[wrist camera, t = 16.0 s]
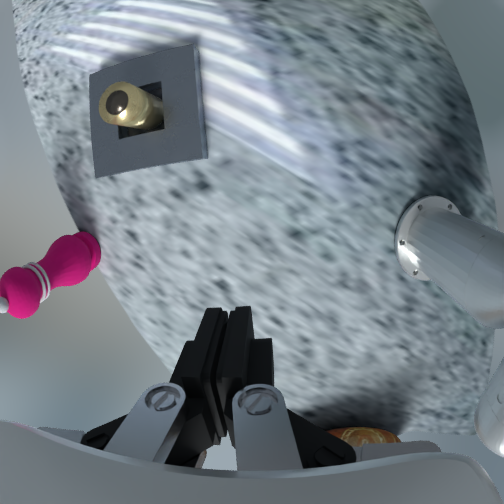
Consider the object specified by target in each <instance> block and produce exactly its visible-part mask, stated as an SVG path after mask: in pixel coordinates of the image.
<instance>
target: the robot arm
mask: <svg viewBox="0 0 504 504" xmlns="http://www.w3.org/2000/svg"><path fill="white" fill-rule="evenodd" d="M400 240H401V241H400ZM395 252H396V256H397V260H398V262H399V264H400V266H401V267H402V268H403V270H404V271H405V272H407V273H408V274H409V275H410V276H411V277H413V278H415V279H418V280H425V281H426V280H432V281H433V282H434V283H436V284H437V285H438V286H439V287H440V288H441V289H442V290H444V291H445V292H446V293H447V294H448V295H449V296H450V297H451V298H453V299H454V300H455V301H456V302H457V303H458V304H459V305H460V306H461V307H462V308H463V309H465V310H466V311H467V312H468V313H469V314H470V315H471V316H472V317H473V318H474V319H475V320H476V321H478V322H479V323H480V324H482V325H483V326H485V327H488V328H492V329H502V328H504V233H503V232H500V231H498V230H496V229H493V228H491V227H489V226H486V225H484V224H482V223H479V222H477V221H474V220H472V219H469V218H467V217H464V216H461V214H460V212H459V210H458V208H457V207H456V206H455V205H454V204H453V203H452V202H451V201H449V200H448V199H446V198H443V197H440V196H426V197H422V198H420V199H418V200H416V201H415V202H414V203H413V204H411V205H410V206H409V207H408V209H407V210H406V211H405V212H404V214H403V215H402V217H401V219H400V221H399V224H398V226H397V230H396V234H395ZM474 425H475V429H476V432H477V435H478V436H479V438H480V440H481V441H482V442H483V443H484V444H485V446H486V447H488V448H489V449H490V450H491V451H493V452H494V453H496V454H497V455H499V456H501V457H503V458H504V358H503V359H502V361H501V364H500V365H499V367H498V368H497V370H496V372H495V374H494V376H493V377H492V379H491V381H490V382H489V384H488V386H487V387H486V389H485V391H484V392H483V394H482V396H481V398H480V400H479V402H478V404H477V406H476V409H475V414H474ZM227 430H228V432H229V436H230V440H231V443H232V446H233V447H234V448H235V449H236V460H237V471H231V470H230V471H229V470H213V469H201V468H202V466H203V463H204V461H205V458H206V454H207V451H206V449H208V448H210V447H211V446H213V445H220V442H221V437H226V435H227ZM0 504H503V502H502V499H501V497H500V495H499V493H498V491H497V489H496V487H495V485H494V483H493V482H492V480H491V478H490V477H489V475H488V474H487V472H486V471H485V470H484V468H483V467H482V466H481V465H480V464H479V463H478V462H477V461H475V460H474V459H472V458H471V457H468V456H466V455H462V454H456V453H444V452H441V450H440V448H439V447H438V446H437V445H436V444H435V443H433V442H430V441H412V442H398V443H370V444H363V445H362V447H353V446H351V445H350V444H348V443H347V442H345V441H343V440H342V439H340V438H338V437H336V436H334V435H332V434H330V433H328V432H327V431H325V430H323V429H321V428H319V427H318V426H316V425H314V424H312V423H311V422H309V421H307V420H305V419H304V418H302V417H300V416H299V415H297V414H295V413H294V412H292V411H290V410H289V409H287V408H286V405H285V401H284V397H283V395H282V393H281V392H280V391H279V390H278V389H277V388H275V387H274V362H273V347H272V338H265V339H254V330H253V321H252V312H251V306H242V307H236V309H235V311H230V315H229V319H228V313H227V311H222V308H221V307H220V308H207V309H206V311H205V313H204V316H203V319H202V321H201V324H200V326H199V329H198V332H197V334H196V337H195V339H194V341H186V343H185V345H184V348H183V350H182V352H181V355H180V357H179V360H178V362H177V364H176V367H175V369H174V372H173V374H172V377H171V379H170V382H169V383H159V384H156V385H153V386H151V387H149V388H148V389H146V391H144V393H143V394H142V395H141V396H140V398H139V400H138V401H137V402H136V404H135V405H134V407H133V408H132V409H131V411H130V412H129V414H127V415H124V416H122V417H120V418H118V419H115V420H113V421H111V422H109V423H106V424H104V425H102V426H99V427H97V428H94V429H92V430H91V431H89V432H87V433H86V434H85V432H84V431H78V430H66V429H56V428H48V427H39V428H34V427H31V426H29V425H25V424H21V423H18V422H13V421H7V420H0Z"/></svg>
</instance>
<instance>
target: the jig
mask: <svg viewBox="0 0 504 504" xmlns="http://www.w3.org/2000/svg"><path fill="white" fill-rule="evenodd" d="M116 82H128V83H130V84H132V85H134V86H136V87H138V88H140V89H142V90H144V91H146V92H147V91H151V90H155V89H159V88H162V99H163V113H164V126H165V129H163V130H158V131H153V132H148V133H144V134H140V135H135V136H131V137H129V133H128V127H126V126H120V125H114V124H109V123H106V122H105V121H104V120H103V119H102V118H101V116H100V114H99V101H100V98H101V96H102V94H103V93H104V91H105V90H106V89H107V88H108V87H109V86H111V85H112V84H114V83H116ZM89 93H90V123H91V138H92V150H93V160H94V169H95V177H96V178H100V177H105V176H110V175H115V174H119V173H124V172H129V171H134V170H139V169H145V168H150V167H156V166H161V165H167V164H173V163H180V162H186V161H193V160H200V159H208V153H207V143H206V133H205V122H204V111H203V100H202V87H201V75H200V61H199V51H198V50H197V48H196V47H195V46H194V44H191V45H186V46H182V47H177V48H173V49H169V50H165V51H161V52H157V53H153V54H149V55H146V56H142V57H139V58H136V59H132V60H129V61H126V62H123V63H120V64H117V65H114V66H112V67H109V68H106V69H103V70H101V71H98V72H96V73H93V74H91V75H90V77H89Z"/></svg>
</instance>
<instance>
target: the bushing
mask: <svg viewBox="0 0 504 504" xmlns="http://www.w3.org/2000/svg"><path fill="white" fill-rule="evenodd" d="M99 114H100V116H101V118H102V119H103V120H104V121H105V122H106V123H109V124H114V125H120V126H126V127H131V128H136V129H142V130H152V129H154V128H156V127H157V126H159V125H160V124H161V122H162V121H163V119H164V113H163V101H162V100H161V99H160V98H158V97H156V96H154V95H152V94H150V93H148V92H146V91H144V90H142V89H140V88H138V87H136V86H134V85H132V84H130V83H128V82H116V83H114V84H112V85H111V86H109V87H108V88H107V89H106V90H105V91H104V93H103V94H102V96H101V98H100V101H99Z"/></svg>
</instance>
